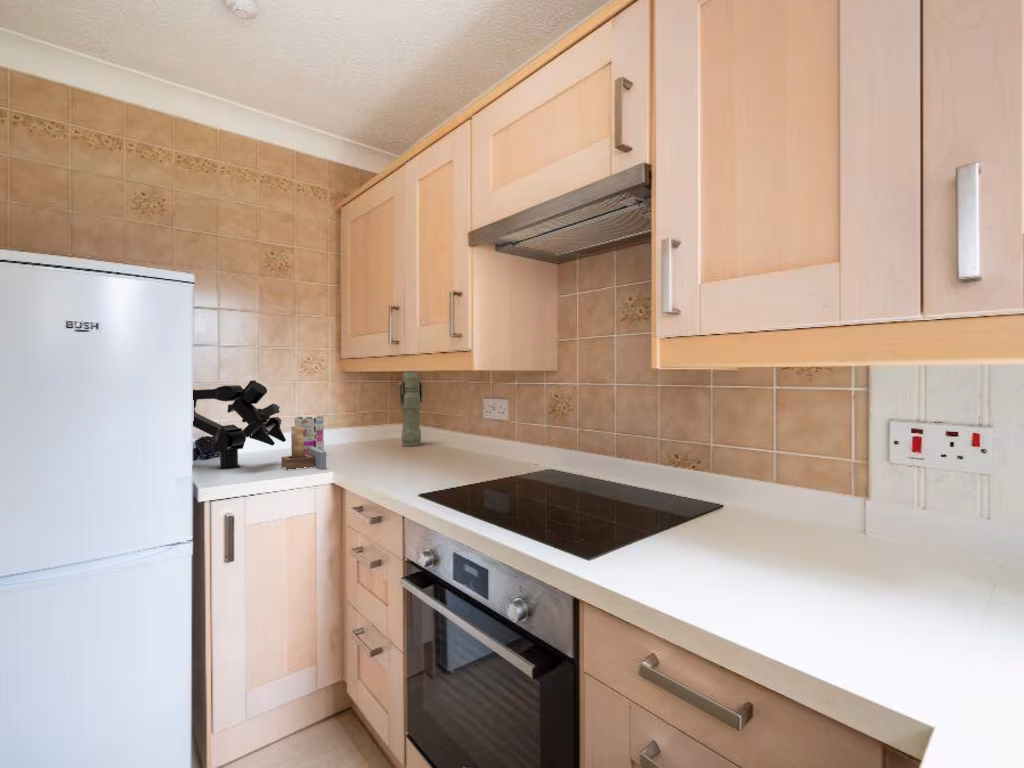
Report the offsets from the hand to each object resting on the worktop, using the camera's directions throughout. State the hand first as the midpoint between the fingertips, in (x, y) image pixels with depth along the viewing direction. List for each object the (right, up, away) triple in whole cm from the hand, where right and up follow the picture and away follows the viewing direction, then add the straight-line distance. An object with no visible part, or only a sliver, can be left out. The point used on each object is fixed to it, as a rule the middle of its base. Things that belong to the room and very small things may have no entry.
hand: (279, 442), depth 177 cm
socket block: (+7, -9, 0) cm, 11 cm away
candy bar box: (0, -9, +25) cm, 27 cm away
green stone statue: (+37, -8, +53) cm, 65 cm away
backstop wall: (+13, -9, +1) cm, 16 cm away
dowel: (+7, -8, 0) cm, 11 cm away
